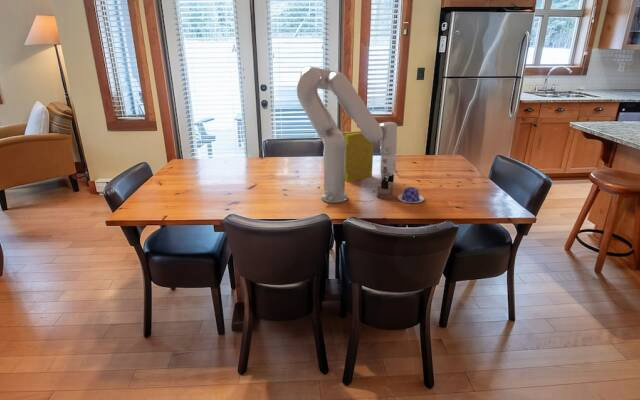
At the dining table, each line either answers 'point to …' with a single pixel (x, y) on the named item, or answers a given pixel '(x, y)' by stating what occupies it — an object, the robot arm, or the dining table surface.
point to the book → (357, 156)
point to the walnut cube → (385, 191)
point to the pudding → (410, 195)
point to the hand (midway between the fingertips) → (387, 185)
